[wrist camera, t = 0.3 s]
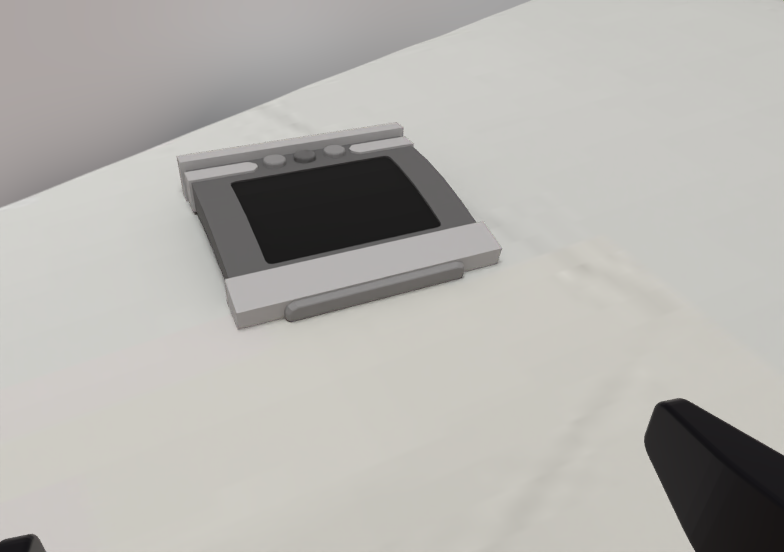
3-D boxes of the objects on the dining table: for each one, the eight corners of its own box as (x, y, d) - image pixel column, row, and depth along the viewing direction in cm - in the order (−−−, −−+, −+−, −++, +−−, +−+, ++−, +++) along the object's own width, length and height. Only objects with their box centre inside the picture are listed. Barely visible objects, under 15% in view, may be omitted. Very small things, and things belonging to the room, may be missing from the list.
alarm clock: (396, 122, 52) (511, 213, 40) (395, 175, 55) (502, 275, 43) (176, 155, 46) (232, 275, 34) (186, 213, 49) (242, 344, 36)
